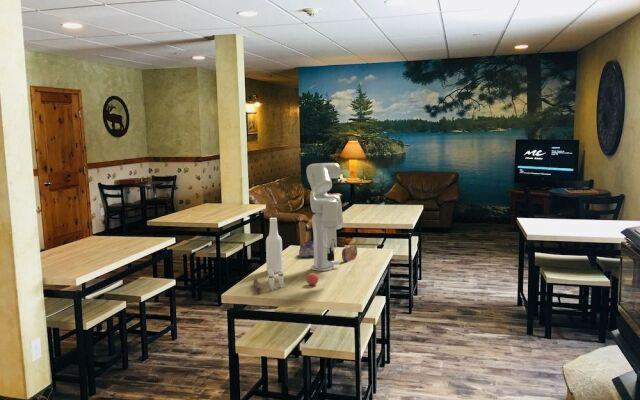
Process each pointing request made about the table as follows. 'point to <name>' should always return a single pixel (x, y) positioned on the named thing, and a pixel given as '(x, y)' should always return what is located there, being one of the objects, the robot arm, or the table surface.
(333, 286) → the table surface
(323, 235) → the robot arm
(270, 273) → the back pin left
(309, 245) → the geode
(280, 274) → the front pin
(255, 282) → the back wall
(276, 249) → the alcohol
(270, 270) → the back pin right
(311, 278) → the ball
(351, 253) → the brown rock slab
